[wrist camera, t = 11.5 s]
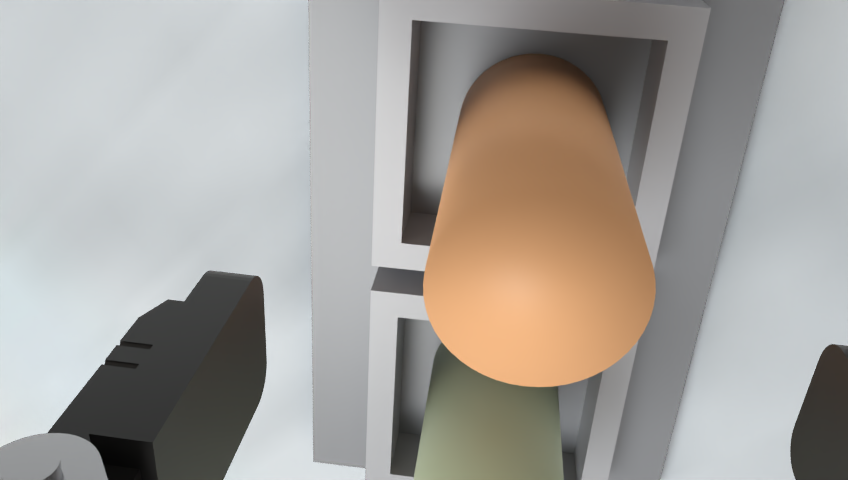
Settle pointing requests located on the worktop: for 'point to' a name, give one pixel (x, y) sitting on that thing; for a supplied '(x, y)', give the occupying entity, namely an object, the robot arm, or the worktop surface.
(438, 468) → the jaw peg olive
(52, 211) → the worktop surface
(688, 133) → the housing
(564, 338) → the jaw peg orange
